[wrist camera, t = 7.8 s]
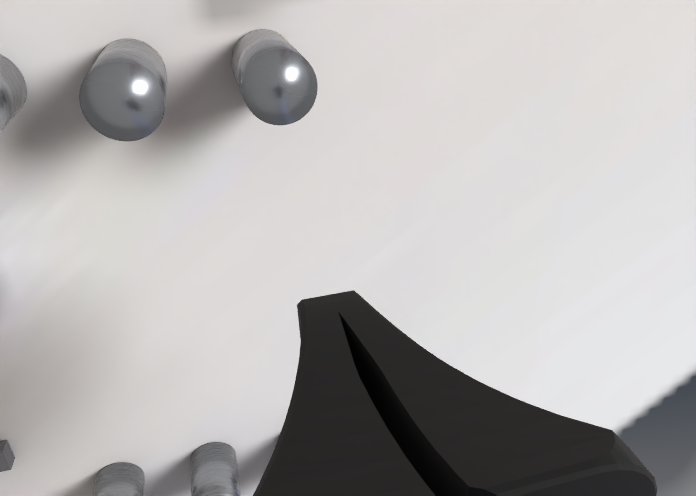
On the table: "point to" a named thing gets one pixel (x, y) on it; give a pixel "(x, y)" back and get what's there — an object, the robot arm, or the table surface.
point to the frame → (6, 456)
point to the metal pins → (140, 121)
